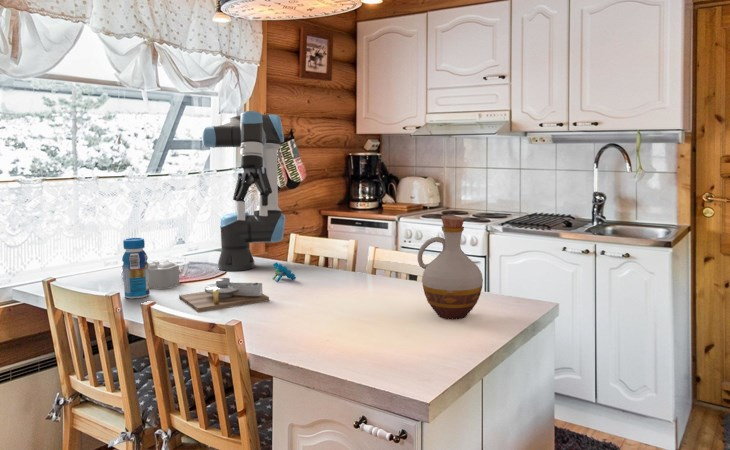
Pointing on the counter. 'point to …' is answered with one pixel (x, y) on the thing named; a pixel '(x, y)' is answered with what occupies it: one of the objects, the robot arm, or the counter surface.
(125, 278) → the beverage bottle
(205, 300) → the base board
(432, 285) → the jug
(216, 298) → the dowel pin
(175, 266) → the lumpy-topped squat cylinder
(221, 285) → the grey bracket
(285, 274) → the blue t-shaped piece
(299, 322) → the counter surface
